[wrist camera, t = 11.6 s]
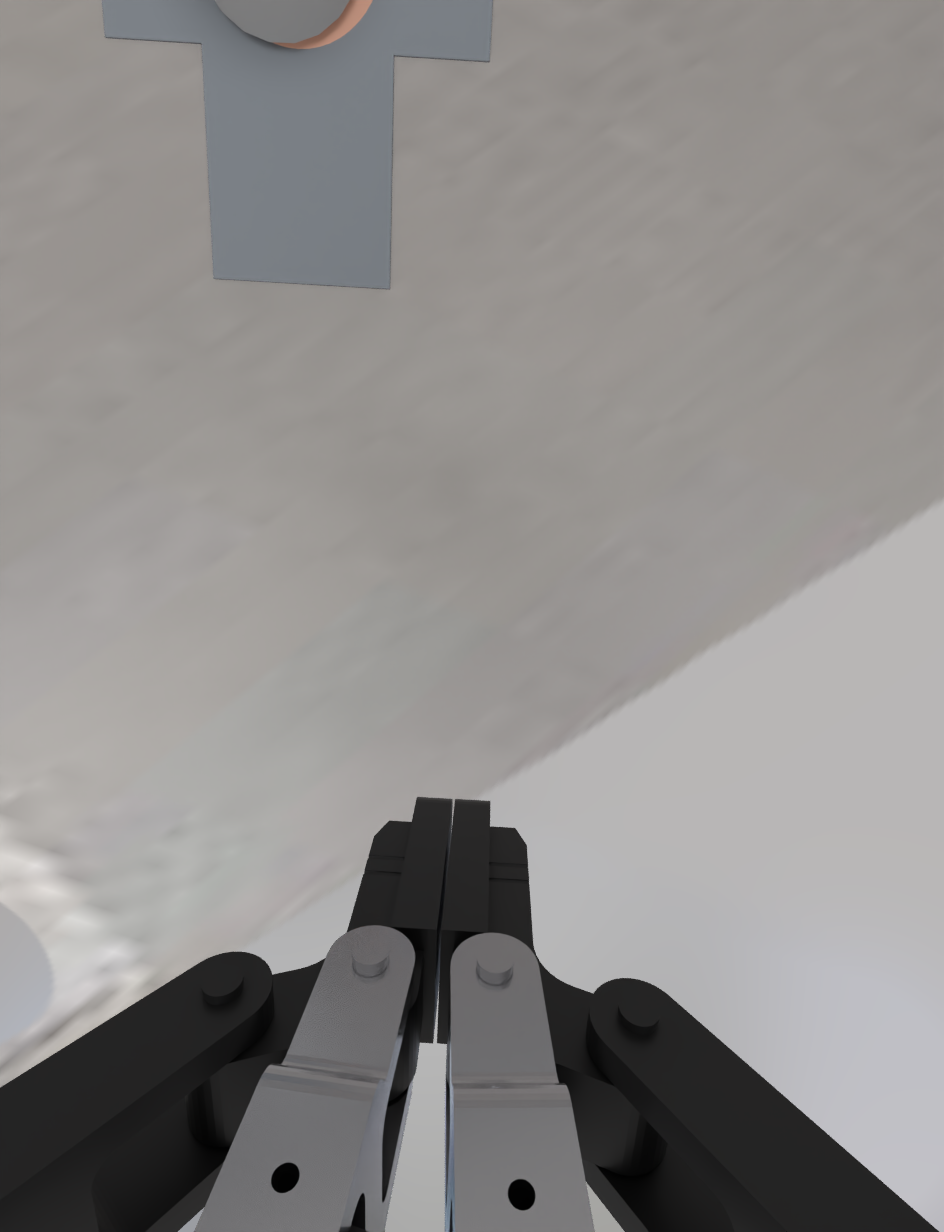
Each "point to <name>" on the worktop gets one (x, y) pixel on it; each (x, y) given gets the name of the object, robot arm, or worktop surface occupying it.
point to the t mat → (305, 129)
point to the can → (282, 17)
